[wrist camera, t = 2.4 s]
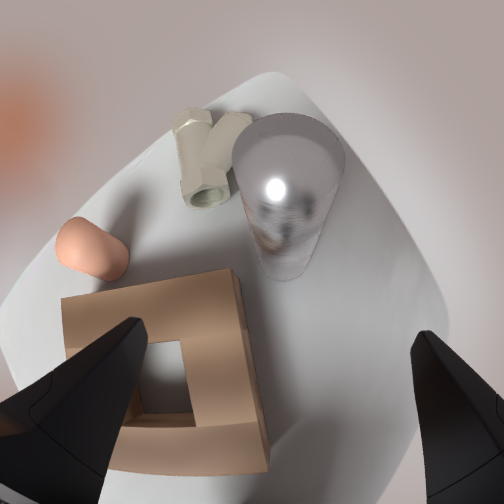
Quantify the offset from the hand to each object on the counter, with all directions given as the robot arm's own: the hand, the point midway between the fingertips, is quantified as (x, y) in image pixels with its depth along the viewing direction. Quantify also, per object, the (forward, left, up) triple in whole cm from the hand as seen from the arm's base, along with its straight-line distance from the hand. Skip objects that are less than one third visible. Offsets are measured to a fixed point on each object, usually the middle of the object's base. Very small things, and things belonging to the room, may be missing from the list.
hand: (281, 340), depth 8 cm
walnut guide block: (-2, +9, -12) cm, 15 cm away
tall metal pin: (+5, -1, -12) cm, 13 cm away
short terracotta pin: (+8, +13, -12) cm, 19 cm away
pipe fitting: (+15, +2, -12) cm, 19 cm away
